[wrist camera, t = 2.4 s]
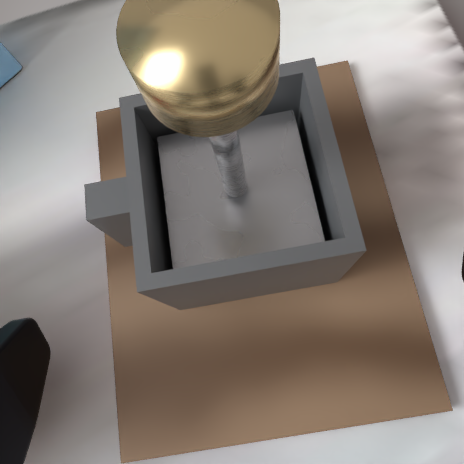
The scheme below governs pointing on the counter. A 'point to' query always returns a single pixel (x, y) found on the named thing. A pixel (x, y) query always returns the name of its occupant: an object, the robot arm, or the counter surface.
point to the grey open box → (241, 268)
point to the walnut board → (275, 331)
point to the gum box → (7, 65)
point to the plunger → (220, 127)
